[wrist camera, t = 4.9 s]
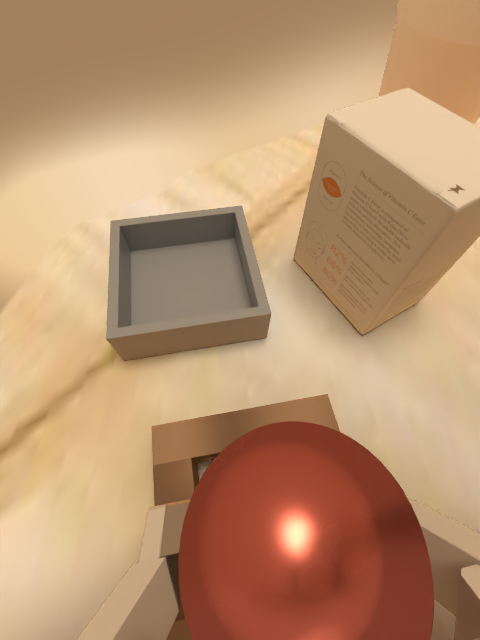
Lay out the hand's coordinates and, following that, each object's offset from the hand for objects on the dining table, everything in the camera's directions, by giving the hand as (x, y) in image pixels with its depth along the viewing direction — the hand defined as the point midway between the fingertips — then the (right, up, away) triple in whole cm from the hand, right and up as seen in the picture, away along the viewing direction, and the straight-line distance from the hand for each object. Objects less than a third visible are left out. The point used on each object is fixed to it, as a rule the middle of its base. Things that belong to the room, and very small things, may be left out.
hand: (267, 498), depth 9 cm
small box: (+8, +8, +13) cm, 18 cm away
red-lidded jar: (0, -4, +6) cm, 7 cm away
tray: (-4, +8, +13) cm, 15 cm away
